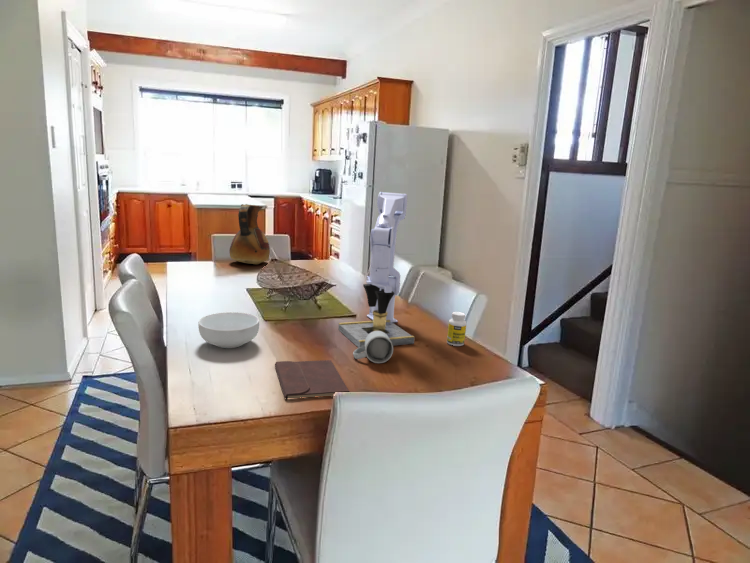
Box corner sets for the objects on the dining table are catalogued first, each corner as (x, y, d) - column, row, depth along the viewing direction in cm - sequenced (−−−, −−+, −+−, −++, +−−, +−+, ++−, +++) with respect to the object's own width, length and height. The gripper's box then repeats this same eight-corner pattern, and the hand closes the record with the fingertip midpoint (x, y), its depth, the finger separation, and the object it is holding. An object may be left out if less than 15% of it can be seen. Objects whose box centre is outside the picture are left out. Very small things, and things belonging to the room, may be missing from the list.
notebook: (331, 365, 139) (331, 358, 139) (350, 397, 121) (350, 389, 121) (274, 368, 135) (274, 361, 135) (284, 402, 117) (285, 393, 116)
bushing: (368, 334, 165) (370, 310, 163) (381, 333, 167) (383, 309, 165) (374, 339, 161) (376, 314, 159) (388, 338, 163) (390, 313, 161)
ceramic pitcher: (274, 261, 274) (276, 204, 268) (261, 268, 255) (262, 206, 248) (239, 258, 277) (239, 201, 270) (223, 265, 257) (223, 203, 251)
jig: (338, 329, 168) (338, 323, 168) (388, 326, 175) (389, 319, 175) (359, 348, 152) (359, 341, 152) (413, 343, 159) (414, 336, 159)
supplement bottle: (450, 346, 159) (454, 316, 157) (443, 341, 164) (446, 311, 162) (467, 346, 160) (470, 315, 158) (459, 340, 165) (462, 310, 163)
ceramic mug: (388, 353, 150) (390, 327, 148) (392, 363, 142) (394, 336, 140) (351, 353, 149) (352, 327, 147) (353, 363, 141) (354, 336, 139)
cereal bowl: (197, 335, 154) (197, 312, 153) (254, 332, 160) (254, 310, 159) (200, 356, 139) (199, 330, 137) (263, 352, 145) (263, 327, 143)
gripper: (358, 262, 164) (356, 304, 167) (377, 272, 151) (374, 317, 154) (379, 262, 167) (376, 303, 170) (399, 271, 154) (396, 315, 157)
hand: (377, 309), depth 162 cm, fingers open, 7 cm apart
